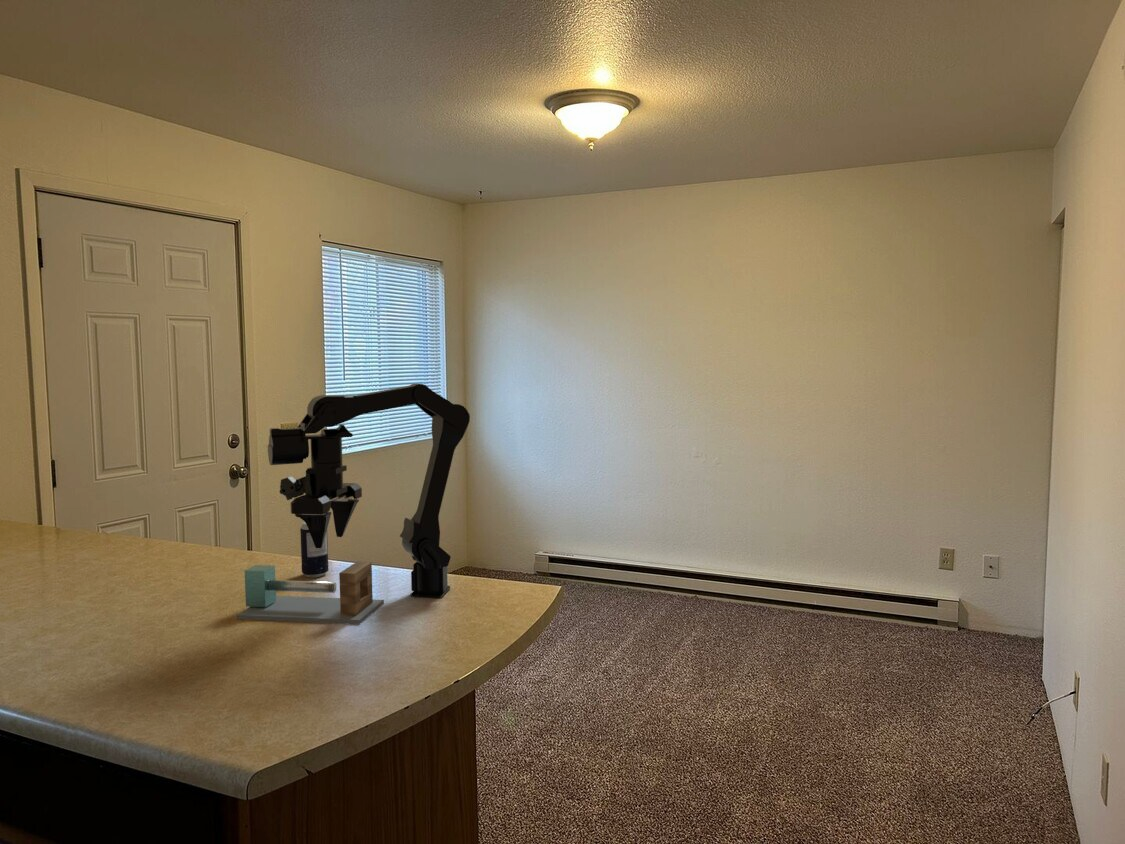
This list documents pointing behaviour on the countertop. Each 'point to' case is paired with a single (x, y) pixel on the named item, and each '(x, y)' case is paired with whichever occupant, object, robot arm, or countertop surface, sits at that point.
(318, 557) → the beverage can
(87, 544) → the countertop surface
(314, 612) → the base board
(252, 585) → the green cube on rod
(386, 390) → the robot arm
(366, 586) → the square wooden collar
